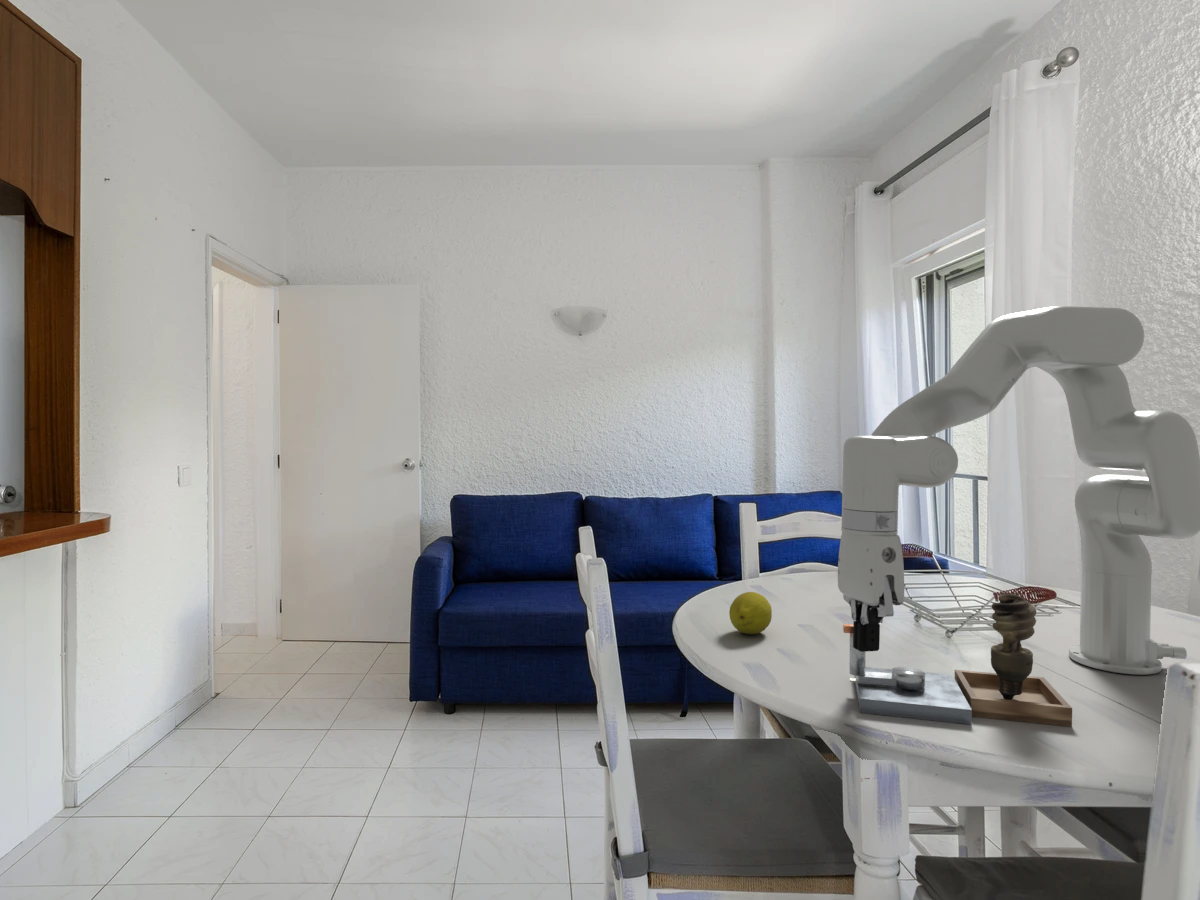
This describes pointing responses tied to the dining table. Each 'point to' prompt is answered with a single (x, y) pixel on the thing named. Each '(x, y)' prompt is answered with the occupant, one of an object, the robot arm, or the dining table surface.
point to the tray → (1014, 699)
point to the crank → (898, 677)
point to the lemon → (750, 613)
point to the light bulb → (1012, 643)
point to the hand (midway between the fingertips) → (866, 649)
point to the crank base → (916, 699)
